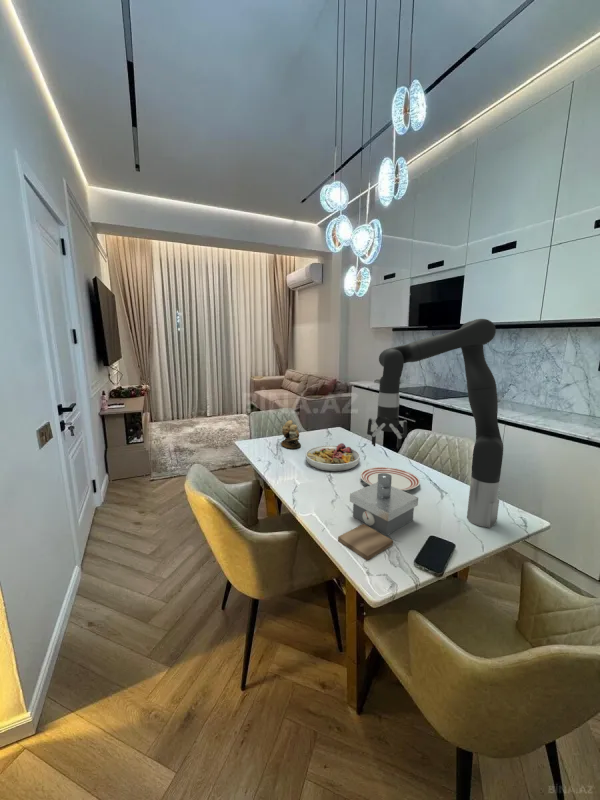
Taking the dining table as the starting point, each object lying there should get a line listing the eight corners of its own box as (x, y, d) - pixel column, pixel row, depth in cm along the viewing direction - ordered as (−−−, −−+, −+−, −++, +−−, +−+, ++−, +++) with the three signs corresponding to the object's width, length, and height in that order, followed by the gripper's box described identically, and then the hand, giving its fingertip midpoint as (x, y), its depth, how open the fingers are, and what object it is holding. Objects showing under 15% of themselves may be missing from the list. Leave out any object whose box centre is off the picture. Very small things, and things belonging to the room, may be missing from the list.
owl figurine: (305, 448, 207) (305, 422, 203) (288, 451, 201) (288, 424, 198) (293, 440, 222) (293, 415, 219) (277, 443, 217) (276, 418, 214)
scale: (412, 520, 126) (414, 500, 124) (384, 536, 115) (386, 515, 114) (379, 503, 138) (380, 486, 137) (351, 517, 128) (351, 498, 126)
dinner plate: (371, 467, 177) (371, 462, 176) (424, 479, 163) (425, 472, 162) (351, 487, 153) (351, 481, 153) (411, 502, 140) (412, 495, 139)
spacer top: (393, 486, 124) (394, 476, 123) (385, 490, 121) (385, 479, 120) (383, 481, 128) (383, 472, 127) (374, 485, 125) (375, 475, 124)
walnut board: (393, 544, 111) (393, 540, 111) (367, 560, 103) (367, 556, 103) (363, 527, 121) (363, 523, 121) (338, 540, 113) (338, 536, 113)
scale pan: (417, 505, 124) (418, 497, 124) (388, 521, 114) (388, 513, 113) (379, 488, 138) (379, 481, 138) (349, 501, 127) (349, 493, 127)
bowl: (347, 478, 164) (347, 463, 162) (295, 466, 179) (295, 452, 177) (367, 459, 189) (367, 446, 188) (320, 450, 204) (320, 438, 203)
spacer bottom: (393, 496, 125) (393, 486, 124) (385, 500, 122) (385, 489, 121) (382, 491, 129) (383, 481, 128) (374, 495, 126) (374, 485, 125)
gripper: (408, 403, 122) (405, 445, 125) (369, 401, 126) (367, 442, 129) (409, 407, 115) (406, 451, 118) (368, 405, 119) (366, 448, 122)
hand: (386, 446), depth 123 cm, fingers open, 8 cm apart
